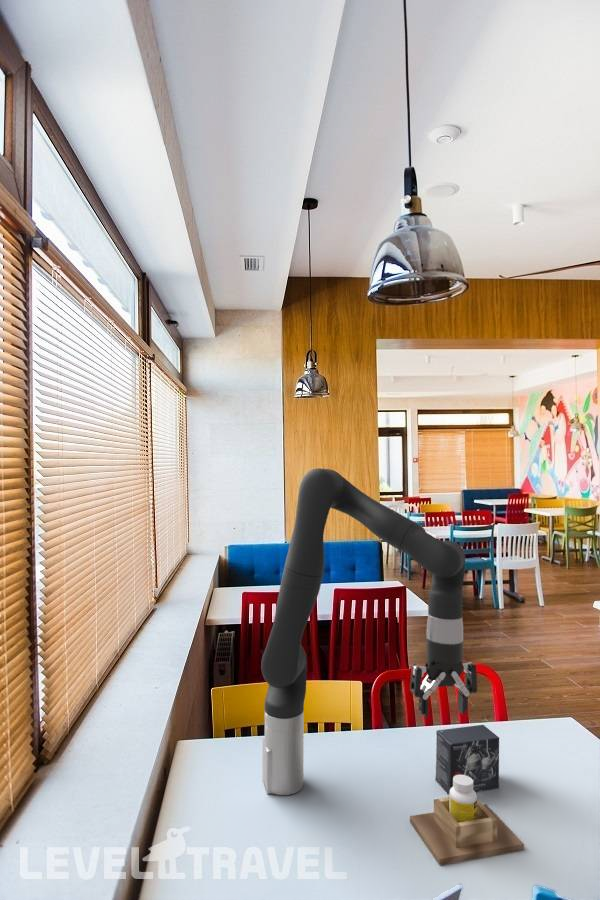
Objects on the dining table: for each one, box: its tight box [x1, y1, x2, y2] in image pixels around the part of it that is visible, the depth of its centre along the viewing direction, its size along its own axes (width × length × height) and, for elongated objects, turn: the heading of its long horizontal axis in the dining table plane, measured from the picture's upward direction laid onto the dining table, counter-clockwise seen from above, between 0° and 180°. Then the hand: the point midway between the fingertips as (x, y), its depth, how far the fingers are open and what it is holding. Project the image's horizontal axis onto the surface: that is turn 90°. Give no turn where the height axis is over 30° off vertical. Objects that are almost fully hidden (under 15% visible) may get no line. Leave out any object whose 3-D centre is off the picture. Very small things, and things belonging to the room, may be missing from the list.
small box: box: [434, 724, 500, 795], centre depth 130 cm, size 13×7×12 cm, turn 105°
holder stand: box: [409, 796, 525, 866], centre depth 112 cm, size 18×13×5 cm
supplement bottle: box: [448, 775, 478, 823], centre depth 112 cm, size 5×5×10 cm
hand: (443, 713), depth 116 cm, fingers open, 8 cm apart
